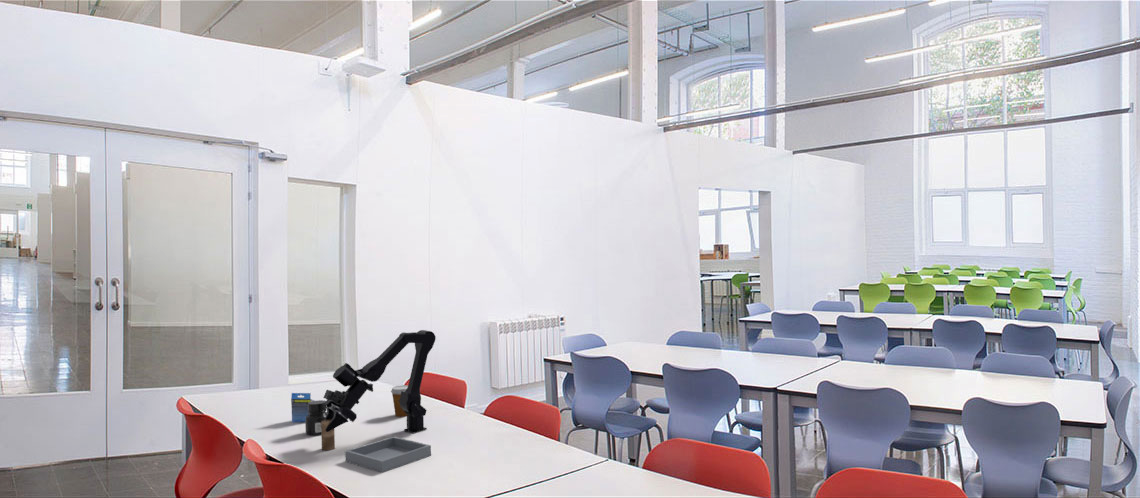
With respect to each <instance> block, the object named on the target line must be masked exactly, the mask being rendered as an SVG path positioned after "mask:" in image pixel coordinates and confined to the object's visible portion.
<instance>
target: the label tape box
mask: <svg viewBox="0 0 1140 498" xmlns="http://www.w3.org/2000/svg"><path fill="white" fill-rule="evenodd" d="M301 396H302V397H301ZM311 396H312V395H311V392H291V396H290V397H291V398H290V401H291V422H292V423H305V418H306V416H307V415H308V414H309V413H308V403H309V402H312V401H316V400H315V399H311Z"/></svg>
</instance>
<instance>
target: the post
mask: <svg viewBox="0 0 1140 498" xmlns="http://www.w3.org/2000/svg"><path fill="white" fill-rule="evenodd" d="M331 420H332V419H329V420H323V421H321V435H320V436H321V437H320V438H321V451H323V452H325V451H326V452H327V451H333V450H335V449H336V445H335V444H336V442H335V441H336V440H335V439H336V438H335V436H336V435H335V428H334V429H332V430H330V431H329V432H327V431H325V429H326V428H327V426H328V425H329V423H330V422H331Z"/></svg>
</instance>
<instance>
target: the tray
mask: <svg viewBox="0 0 1140 498" xmlns="http://www.w3.org/2000/svg"><path fill="white" fill-rule="evenodd" d="M344 453H345V454H344V455H345V457H344V458H345V461H344V462H346V461H347V463H349V462H350V464H352V463H353V465H356V464H357V465H356V466H359V465H360V467H363V468H366V469H369V470H370V469H371V470H373V471H376V472H380V473H386V472H389V471H390V470H394V469H397V468H399V467H402V466H405V465H409V464H410V463H414V462H417V461H419V460H422V459H426V458H428V457H431V456H432V445H431V444H428V443H427V444H426V443H423V442H419V441H413V440H410V439H406V438H402V437H397V436H391V437H388V438H384V439H381V440H378V441H375V442H370V443H367V444H365V445H361V446H357V447H355V448H351V449H348V450H345V451H344Z"/></svg>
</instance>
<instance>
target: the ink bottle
mask: <svg viewBox="0 0 1140 498" xmlns="http://www.w3.org/2000/svg"><path fill="white" fill-rule="evenodd" d="M326 401H327V400H320V399H319V400H315V401H312V402H309V403H308V413H309V414H308V415H307V416H306V418H305V422H304V424H305V434H306V435H307V436H319V435H320V436H321V421H323V420H324V419H325V417H326V414H327V409H326V407H327V406H326V405H324V403H325V402H326Z"/></svg>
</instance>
